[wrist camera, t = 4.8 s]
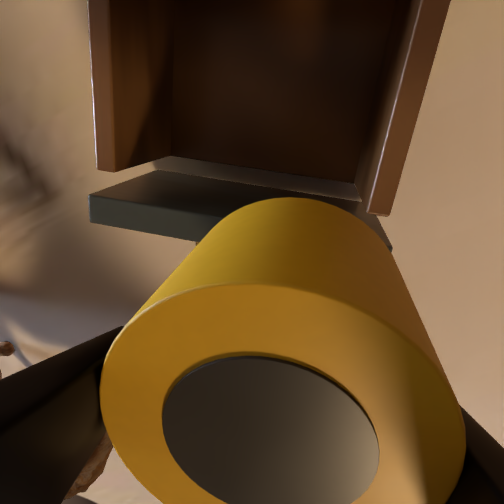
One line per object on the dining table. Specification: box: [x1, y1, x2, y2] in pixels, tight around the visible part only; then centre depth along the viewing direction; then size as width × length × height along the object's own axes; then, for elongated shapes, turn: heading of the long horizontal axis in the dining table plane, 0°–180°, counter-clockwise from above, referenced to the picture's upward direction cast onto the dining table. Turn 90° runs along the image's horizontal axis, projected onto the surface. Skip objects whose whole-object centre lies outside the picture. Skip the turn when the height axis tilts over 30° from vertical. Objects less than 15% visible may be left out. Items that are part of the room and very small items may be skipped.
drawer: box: [87, 0, 451, 252], centre depth 15 cm, size 17×12×6 cm
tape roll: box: [99, 197, 466, 504], centre depth 8 cm, size 6×6×5 cm
